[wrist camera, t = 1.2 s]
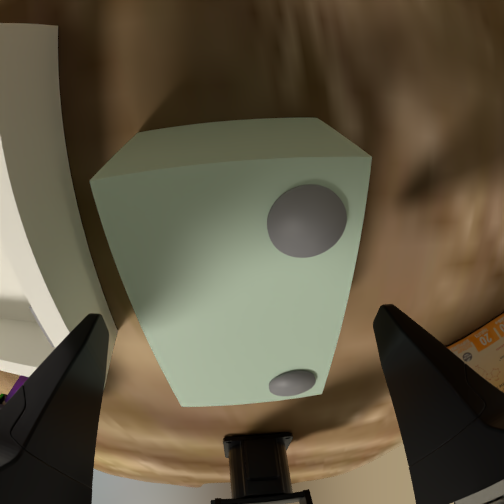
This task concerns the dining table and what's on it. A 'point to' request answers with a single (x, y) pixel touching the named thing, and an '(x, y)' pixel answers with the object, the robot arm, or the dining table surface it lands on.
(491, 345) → the supplement box
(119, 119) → the dining table surface
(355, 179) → the green box with knobs
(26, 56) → the cabinet carcass
